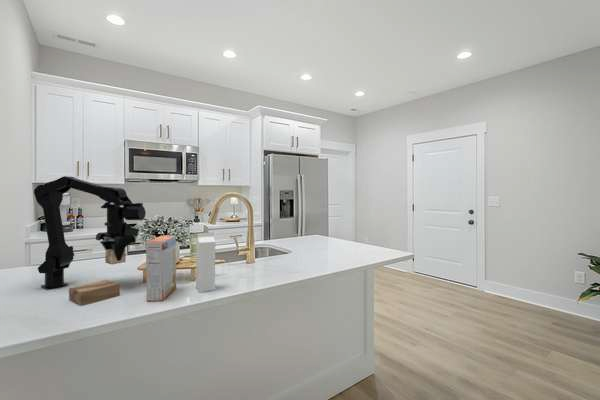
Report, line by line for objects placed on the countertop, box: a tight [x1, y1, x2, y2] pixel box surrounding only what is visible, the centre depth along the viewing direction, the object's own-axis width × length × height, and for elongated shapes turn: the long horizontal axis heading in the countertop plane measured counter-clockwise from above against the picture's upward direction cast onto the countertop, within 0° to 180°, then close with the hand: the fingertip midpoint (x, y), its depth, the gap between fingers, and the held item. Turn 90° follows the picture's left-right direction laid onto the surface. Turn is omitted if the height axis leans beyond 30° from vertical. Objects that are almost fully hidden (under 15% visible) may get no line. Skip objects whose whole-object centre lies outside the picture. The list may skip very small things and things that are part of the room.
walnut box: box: [68, 279, 121, 306], centre depth 103 cm, size 9×12×4 cm
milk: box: [195, 232, 216, 294], centre depth 114 cm, size 6×6×22 cm
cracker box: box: [145, 234, 177, 302], centre depth 107 cm, size 14×6×21 cm, turn 5°
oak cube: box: [104, 248, 127, 265], centre depth 115 cm, size 5×5×5 cm
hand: (115, 259), depth 115 cm, fingers closed on oak cube, 5 cm apart
